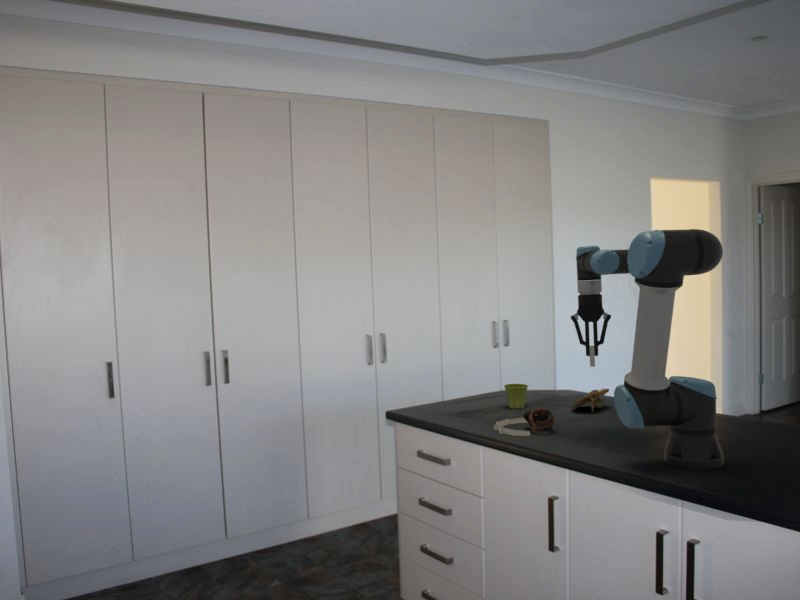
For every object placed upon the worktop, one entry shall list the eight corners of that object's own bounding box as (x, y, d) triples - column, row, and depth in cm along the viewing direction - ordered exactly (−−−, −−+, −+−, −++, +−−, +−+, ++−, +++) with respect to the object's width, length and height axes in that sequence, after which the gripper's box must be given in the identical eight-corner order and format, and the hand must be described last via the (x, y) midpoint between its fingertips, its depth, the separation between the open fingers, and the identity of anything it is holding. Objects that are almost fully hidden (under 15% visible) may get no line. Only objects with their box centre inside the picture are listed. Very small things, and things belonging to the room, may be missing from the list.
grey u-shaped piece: (529, 436, 219) (529, 432, 219) (490, 435, 223) (490, 430, 223) (535, 421, 239) (535, 417, 239) (499, 420, 243) (499, 416, 242)
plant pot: (511, 404, 271) (510, 382, 270) (532, 406, 265) (532, 384, 265) (500, 408, 263) (499, 386, 263) (522, 410, 258) (521, 388, 257)
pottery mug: (561, 429, 227) (560, 410, 223) (547, 446, 222) (545, 428, 217) (531, 417, 235) (528, 399, 231) (516, 434, 229) (513, 416, 225)
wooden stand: (584, 420, 262) (577, 401, 265) (619, 408, 256) (611, 389, 259) (570, 419, 247) (562, 399, 250) (607, 405, 241) (599, 385, 244)
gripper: (610, 292, 221) (613, 364, 221) (569, 294, 224) (572, 365, 224) (611, 293, 213) (614, 367, 214) (568, 294, 217) (571, 367, 217)
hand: (592, 366), depth 219 cm, fingers closed
